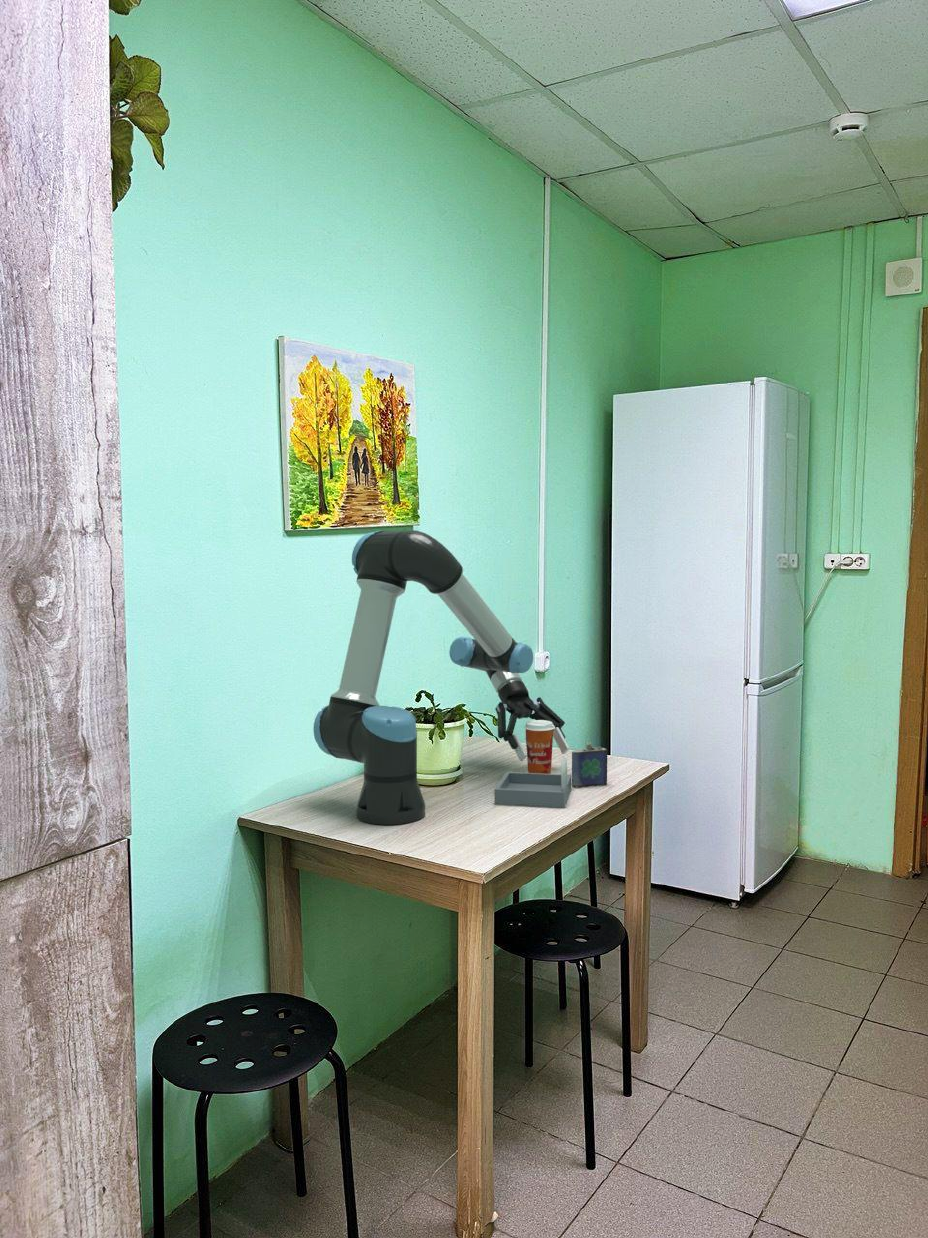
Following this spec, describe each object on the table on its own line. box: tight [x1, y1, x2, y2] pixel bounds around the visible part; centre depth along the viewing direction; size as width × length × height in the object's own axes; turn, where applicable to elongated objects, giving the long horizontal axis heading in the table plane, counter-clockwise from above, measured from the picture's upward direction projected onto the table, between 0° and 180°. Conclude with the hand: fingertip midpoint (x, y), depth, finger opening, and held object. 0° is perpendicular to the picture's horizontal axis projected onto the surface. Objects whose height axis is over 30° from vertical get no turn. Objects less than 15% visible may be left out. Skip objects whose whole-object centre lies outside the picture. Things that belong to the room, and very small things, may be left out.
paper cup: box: [523, 719, 555, 774], centre depth 232 cm, size 8×8×14 cm
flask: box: [571, 741, 609, 789], centre depth 224 cm, size 9×3×11 cm, turn 105°
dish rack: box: [493, 756, 572, 809], centre depth 215 cm, size 16×16×10 cm
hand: (545, 754), depth 230 cm, fingers open, 13 cm apart
